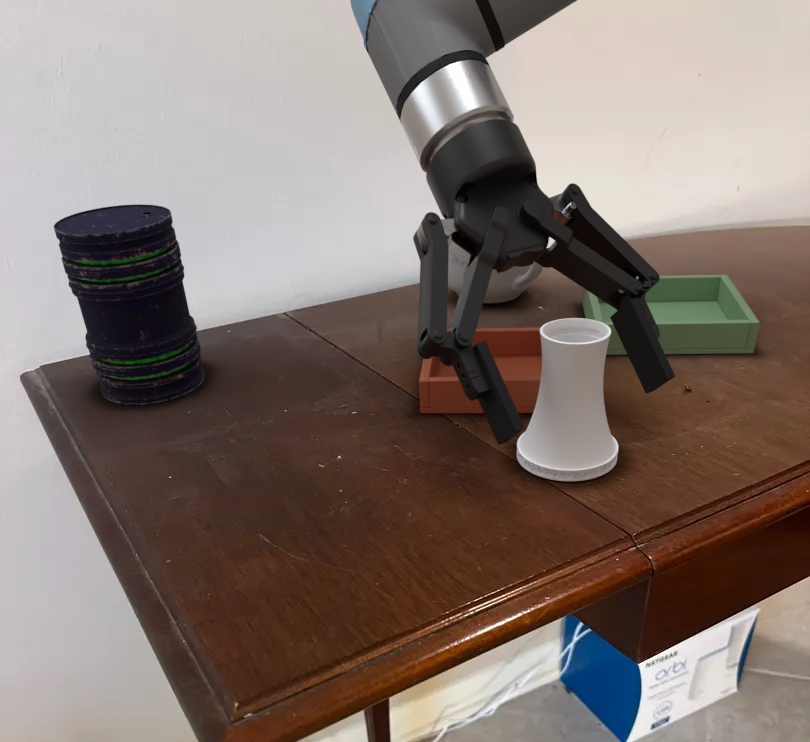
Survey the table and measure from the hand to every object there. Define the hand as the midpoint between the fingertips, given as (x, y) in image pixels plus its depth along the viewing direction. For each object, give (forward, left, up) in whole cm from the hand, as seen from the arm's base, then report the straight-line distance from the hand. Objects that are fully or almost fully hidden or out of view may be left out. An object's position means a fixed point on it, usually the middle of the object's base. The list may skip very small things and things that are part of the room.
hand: (589, 410), depth 58 cm
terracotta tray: (+7, -15, -5) cm, 17 cm away
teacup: (+7, -37, -5) cm, 38 cm away
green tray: (-10, -28, -5) cm, 30 cm away
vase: (+1, -2, -5) cm, 5 cm away
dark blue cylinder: (+39, -16, -5) cm, 42 cm away
